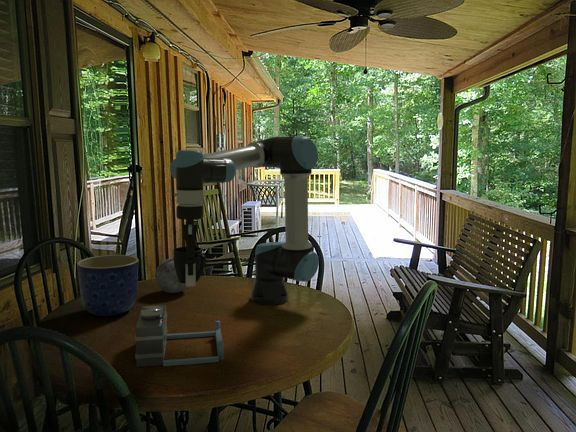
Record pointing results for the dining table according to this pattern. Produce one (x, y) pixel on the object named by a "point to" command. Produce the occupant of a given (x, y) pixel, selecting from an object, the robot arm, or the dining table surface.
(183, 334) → the clip bracket
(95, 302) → the planter
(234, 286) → the dining table surface
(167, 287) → the decorative orb
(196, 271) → the mug
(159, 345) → the grey stepped block
